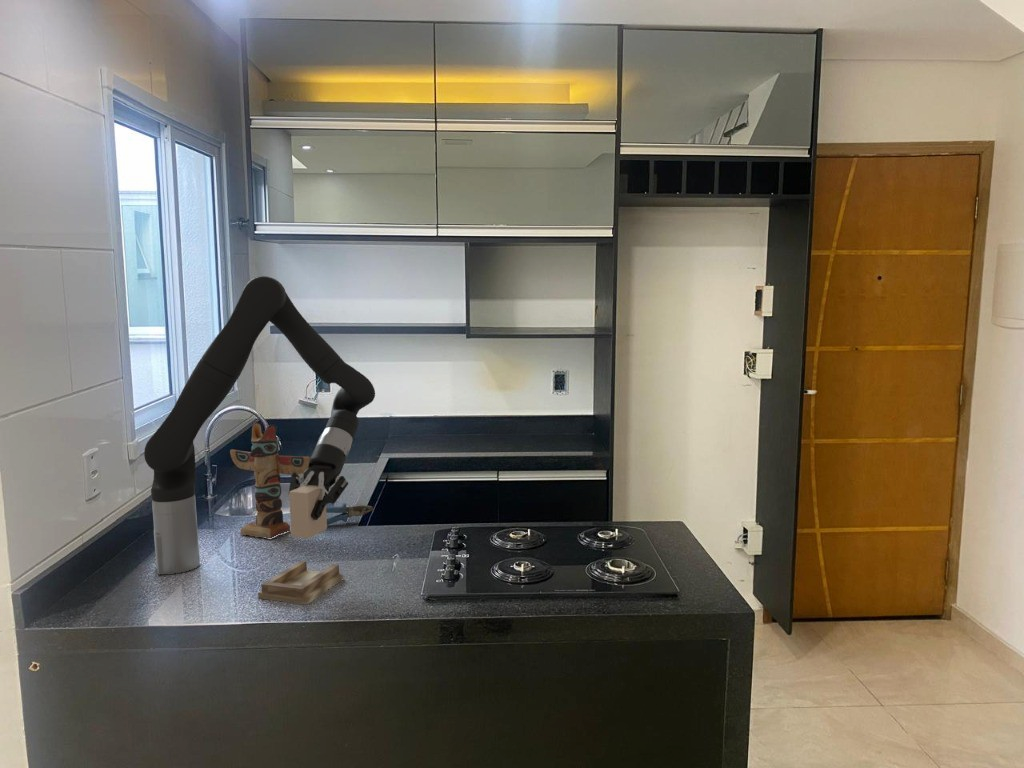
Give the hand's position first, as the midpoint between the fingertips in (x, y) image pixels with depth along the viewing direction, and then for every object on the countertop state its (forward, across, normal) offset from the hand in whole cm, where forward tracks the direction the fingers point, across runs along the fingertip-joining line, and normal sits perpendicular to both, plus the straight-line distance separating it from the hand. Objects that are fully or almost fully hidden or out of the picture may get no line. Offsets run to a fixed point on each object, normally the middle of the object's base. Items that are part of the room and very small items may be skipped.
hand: (303, 516), depth 153 cm
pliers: (-18, -17, +40) cm, 47 cm away
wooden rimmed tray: (+12, 0, +10) cm, 16 cm away
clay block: (+2, 0, +4) cm, 5 cm away
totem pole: (-9, -32, +32) cm, 46 cm away
